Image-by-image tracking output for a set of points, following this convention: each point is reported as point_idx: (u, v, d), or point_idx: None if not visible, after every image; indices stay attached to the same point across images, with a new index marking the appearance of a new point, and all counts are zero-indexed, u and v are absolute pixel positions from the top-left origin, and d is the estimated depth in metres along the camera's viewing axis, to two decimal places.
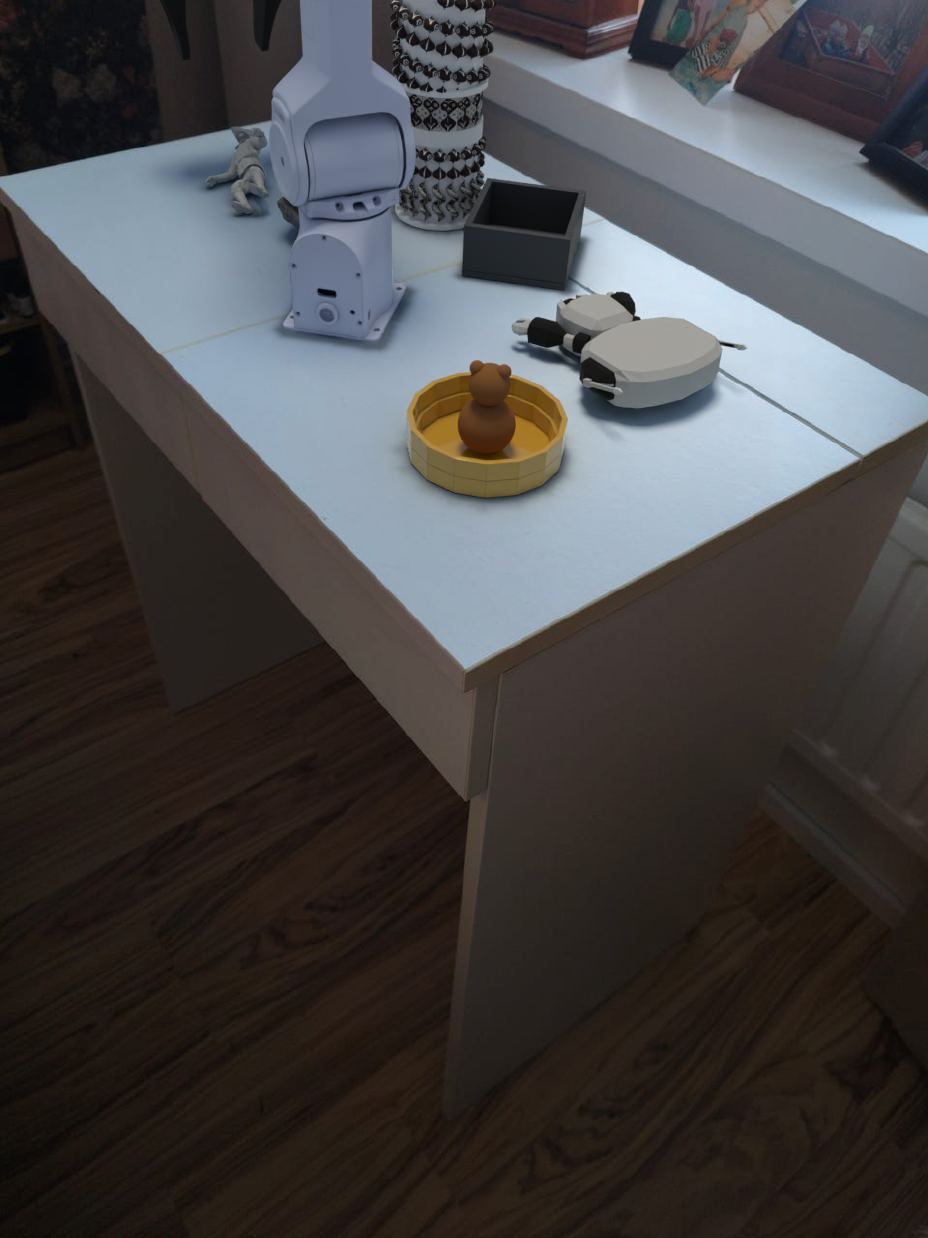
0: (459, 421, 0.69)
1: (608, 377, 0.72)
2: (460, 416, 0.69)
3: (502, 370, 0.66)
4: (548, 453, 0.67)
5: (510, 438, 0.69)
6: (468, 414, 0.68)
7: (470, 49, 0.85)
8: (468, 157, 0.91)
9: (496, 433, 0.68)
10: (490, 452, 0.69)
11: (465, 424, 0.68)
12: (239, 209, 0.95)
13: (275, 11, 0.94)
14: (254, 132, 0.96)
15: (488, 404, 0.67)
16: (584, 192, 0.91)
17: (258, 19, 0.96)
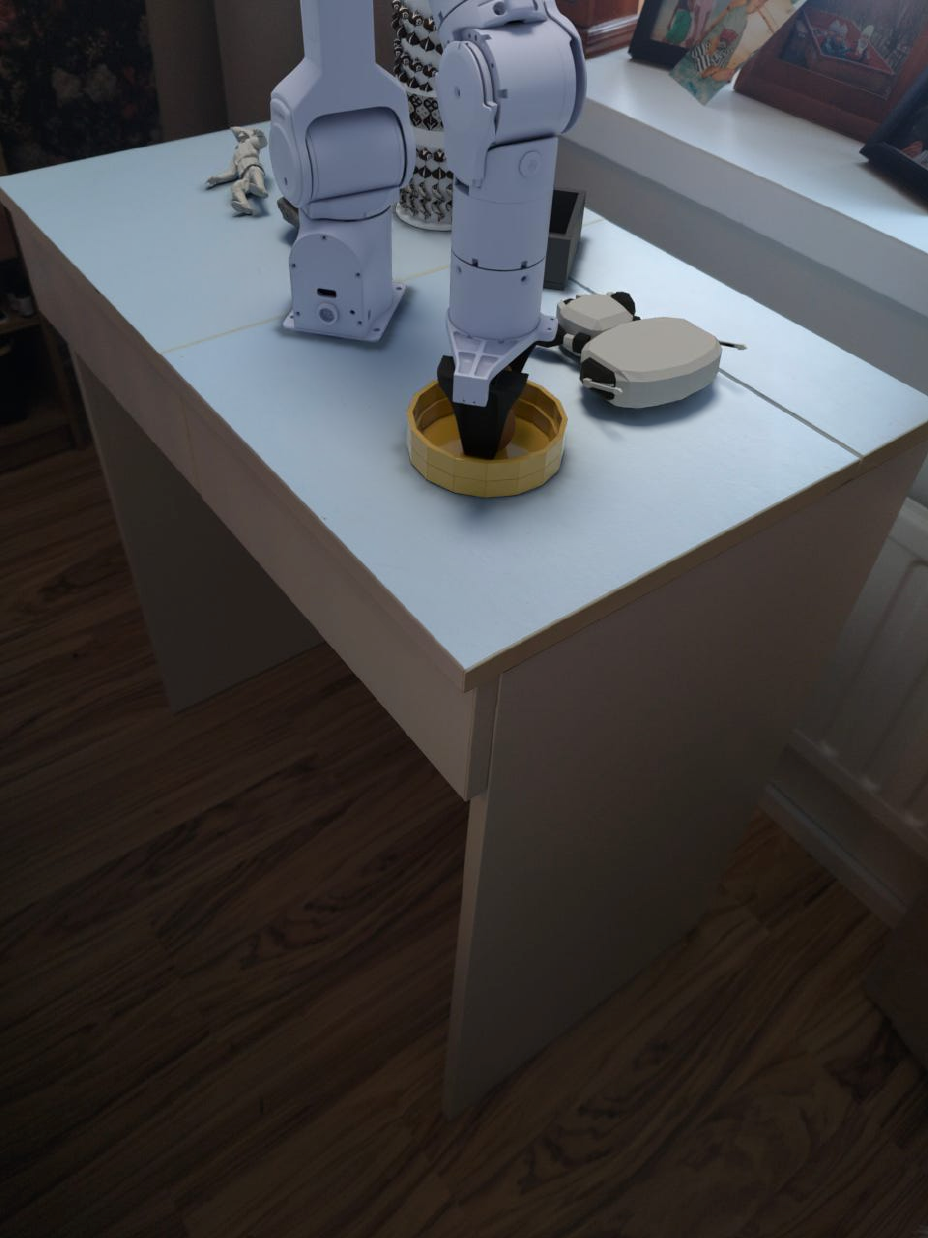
0: None
1: (608, 377, 0.72)
2: None
3: None
4: (548, 453, 0.67)
5: (510, 438, 0.69)
6: None
7: None
8: None
9: None
10: None
11: None
12: (239, 209, 0.95)
13: (453, 410, 0.65)
14: (254, 132, 0.96)
15: None
16: (584, 192, 0.91)
17: None
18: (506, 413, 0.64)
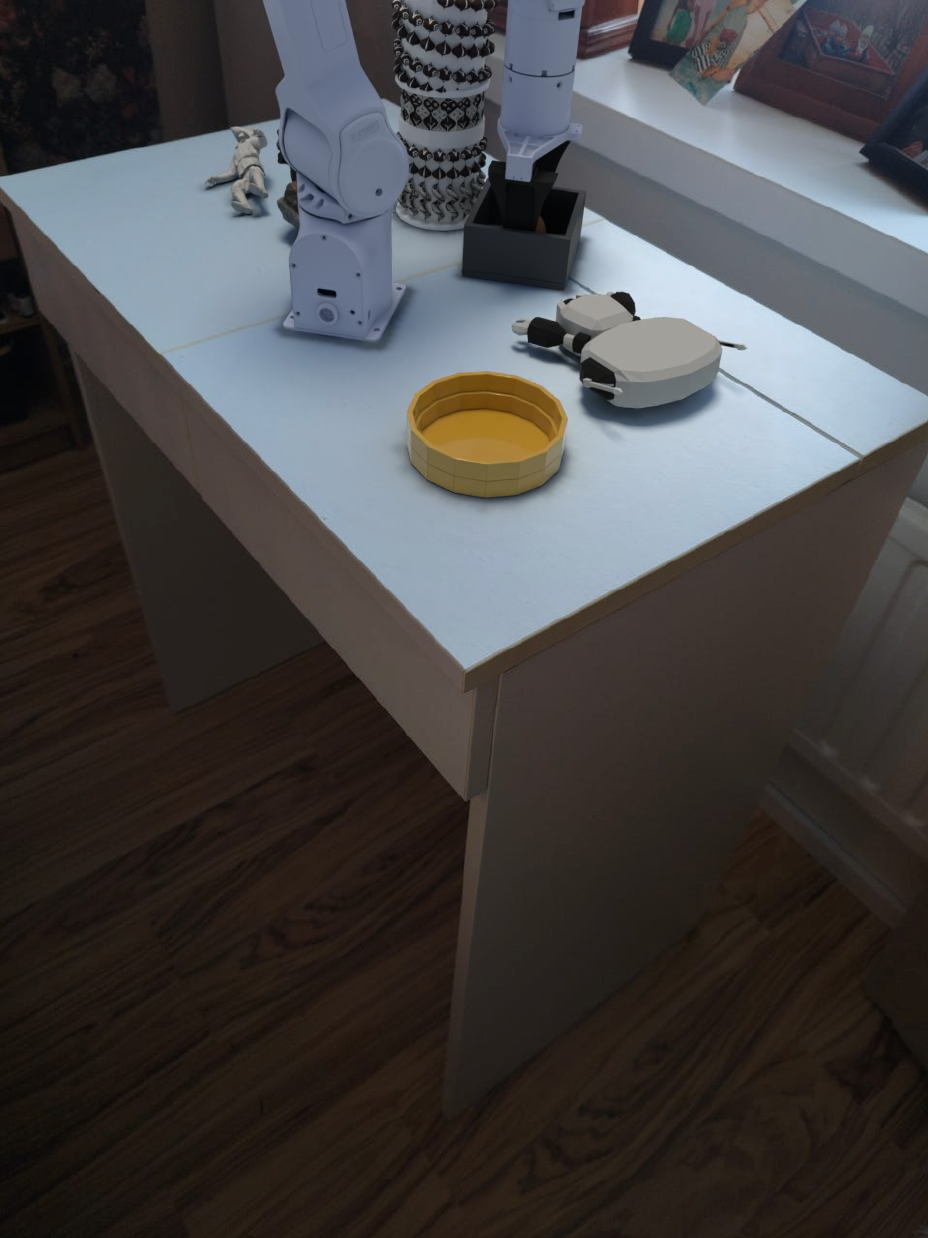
0: None
1: (608, 377, 0.72)
2: None
3: None
4: (548, 453, 0.67)
5: None
6: None
7: (470, 49, 0.85)
8: (468, 157, 0.91)
9: None
10: None
11: None
12: (239, 209, 0.95)
13: (499, 206, 0.85)
14: (254, 132, 0.96)
15: None
16: (584, 192, 0.91)
17: None
18: (540, 205, 0.83)
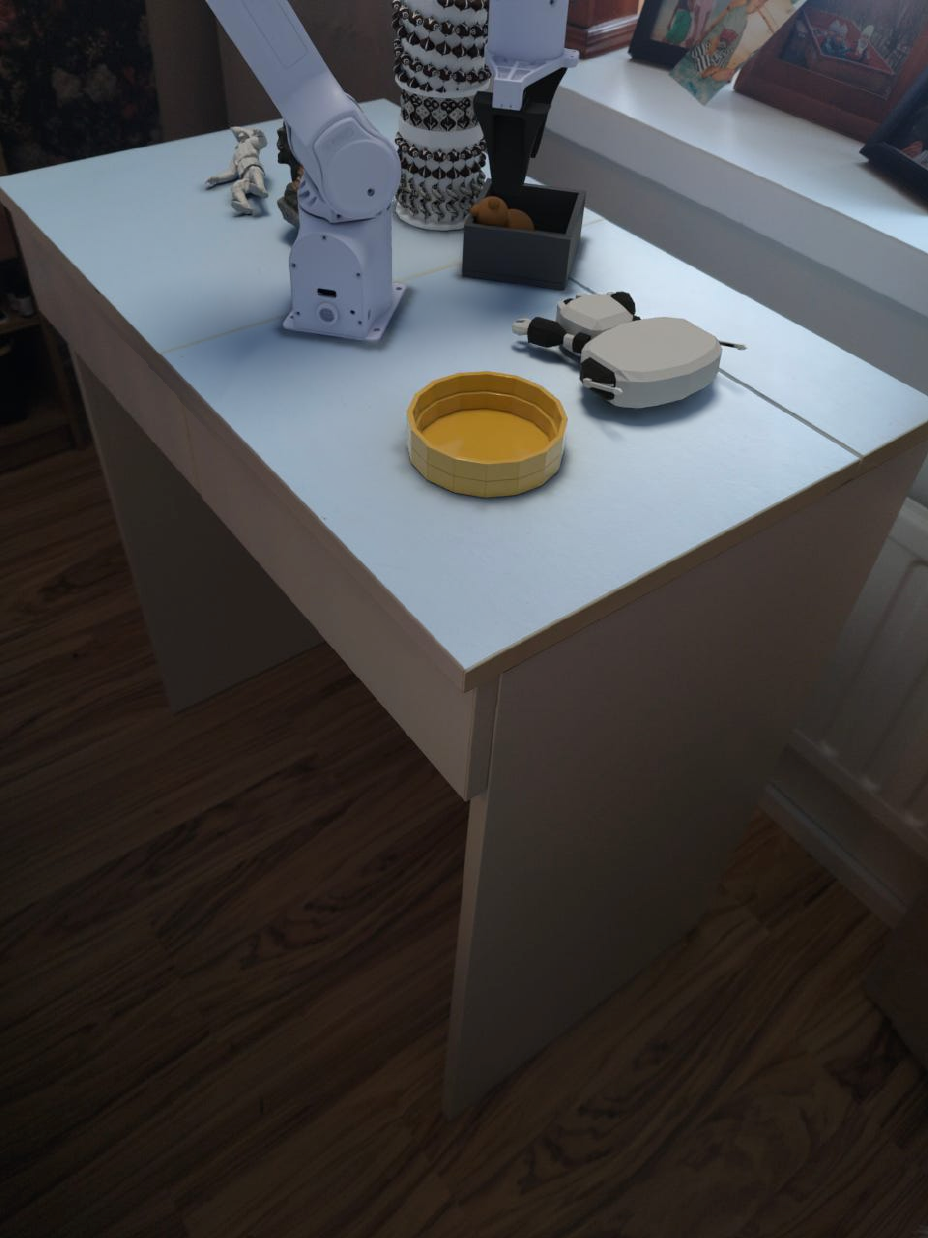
0: None
1: (608, 377, 0.72)
2: None
3: (491, 204, 0.85)
4: (548, 453, 0.67)
5: None
6: None
7: (470, 49, 0.85)
8: (468, 157, 0.91)
9: None
10: None
11: None
12: (239, 209, 0.95)
13: (486, 143, 0.76)
14: (254, 132, 0.96)
15: None
16: (584, 192, 0.91)
17: None
18: (531, 141, 0.75)
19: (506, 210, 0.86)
